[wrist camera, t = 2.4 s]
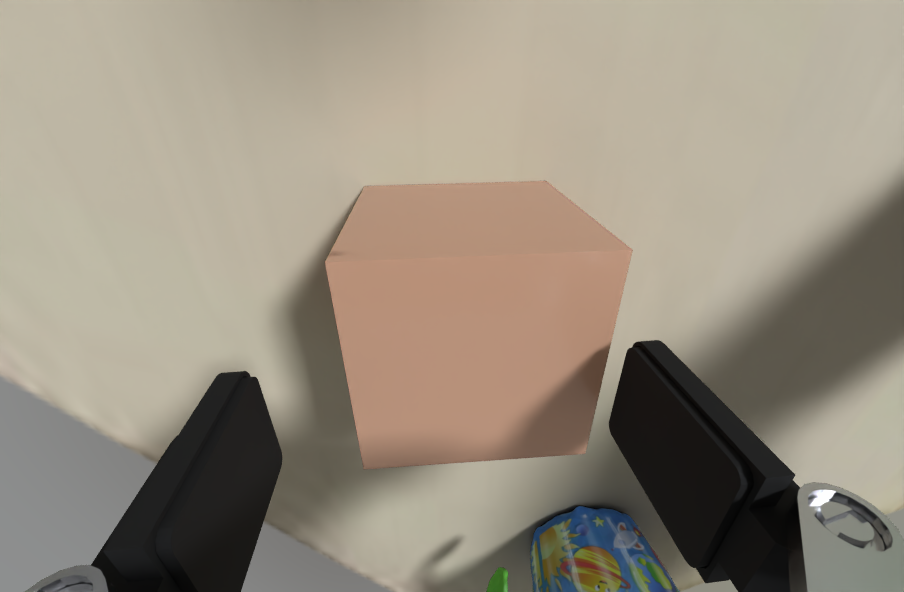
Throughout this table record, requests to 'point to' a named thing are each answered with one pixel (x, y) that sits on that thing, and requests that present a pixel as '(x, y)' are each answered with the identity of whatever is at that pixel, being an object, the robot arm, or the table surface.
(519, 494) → the table surface
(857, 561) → the robot arm
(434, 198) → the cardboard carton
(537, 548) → the snack cup
